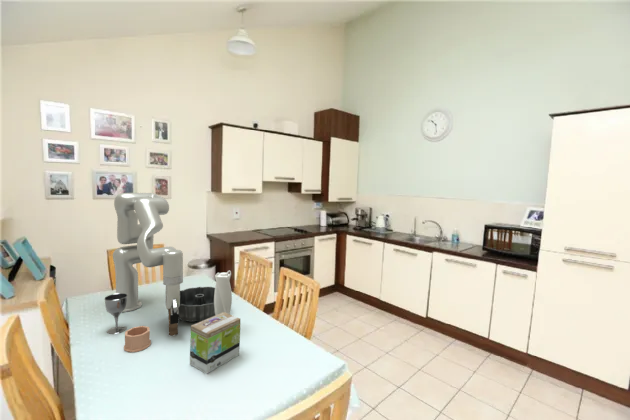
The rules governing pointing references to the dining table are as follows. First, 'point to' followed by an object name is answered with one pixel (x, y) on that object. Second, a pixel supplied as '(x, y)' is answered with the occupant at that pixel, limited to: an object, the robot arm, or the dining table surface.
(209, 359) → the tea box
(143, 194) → the robot arm
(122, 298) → the wine glass
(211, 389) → the dining table surface
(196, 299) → the bundt pan
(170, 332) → the brown wooden dowel
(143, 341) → the octagonal terracotta pot
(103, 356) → the dining table surface
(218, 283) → the skyscraper
